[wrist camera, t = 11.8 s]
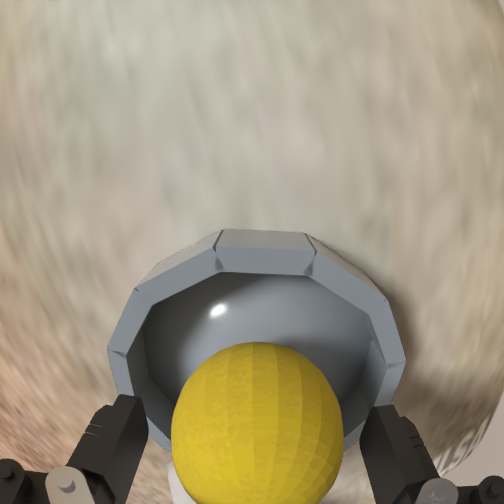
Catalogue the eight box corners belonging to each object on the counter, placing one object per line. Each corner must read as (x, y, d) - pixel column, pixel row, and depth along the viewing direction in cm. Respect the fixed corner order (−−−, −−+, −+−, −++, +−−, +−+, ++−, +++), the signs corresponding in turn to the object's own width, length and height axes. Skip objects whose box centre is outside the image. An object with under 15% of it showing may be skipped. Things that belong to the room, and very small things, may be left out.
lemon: (179, 388, 13) (134, 533, 6) (217, 287, 12) (168, 446, 4) (287, 420, 14) (303, 562, 6) (342, 331, 13) (416, 482, 5)
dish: (120, 225, 12) (90, 240, 9) (404, 239, 12) (433, 257, 9) (150, 427, 15) (138, 459, 13) (351, 436, 15) (360, 468, 13)
